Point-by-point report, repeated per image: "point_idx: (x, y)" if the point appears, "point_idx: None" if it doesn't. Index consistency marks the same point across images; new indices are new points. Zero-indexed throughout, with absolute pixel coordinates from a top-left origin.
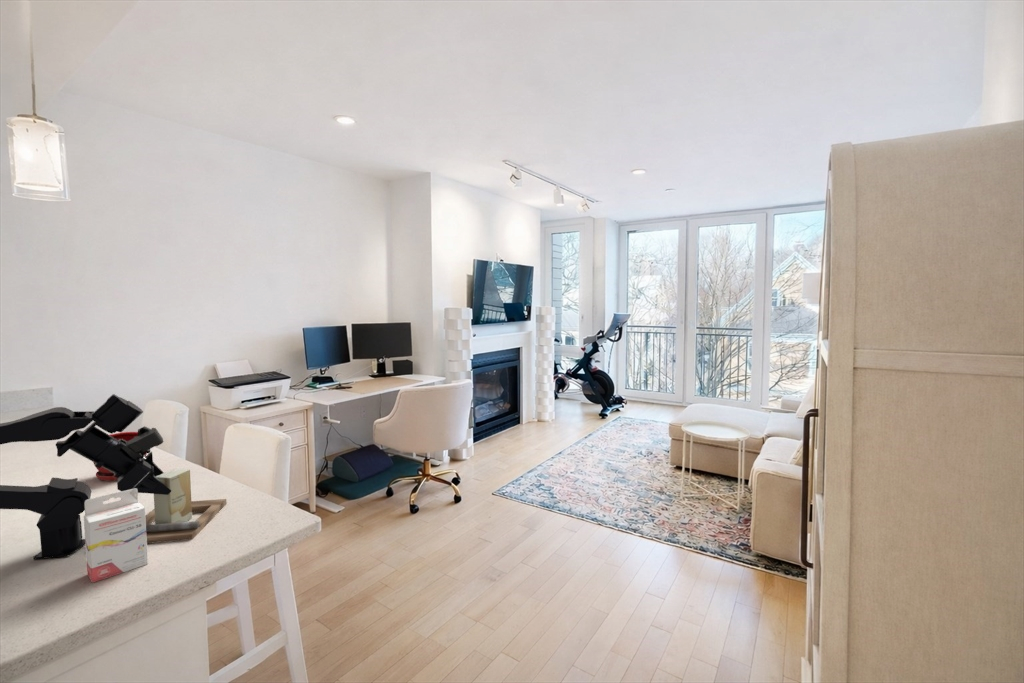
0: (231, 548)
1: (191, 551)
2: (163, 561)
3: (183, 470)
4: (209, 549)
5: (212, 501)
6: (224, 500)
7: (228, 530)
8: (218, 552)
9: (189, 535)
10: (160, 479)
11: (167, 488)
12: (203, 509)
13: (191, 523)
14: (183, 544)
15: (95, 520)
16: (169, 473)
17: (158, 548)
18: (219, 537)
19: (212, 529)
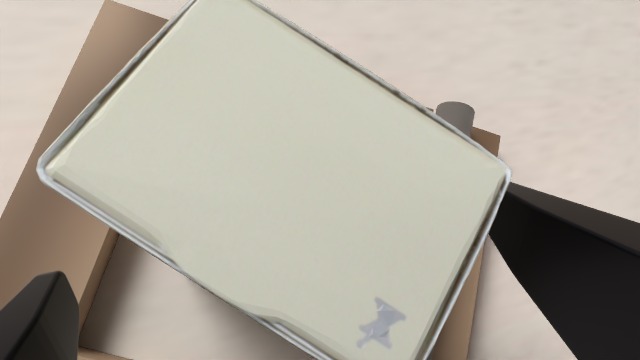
0: (603, 15)
1: (588, 136)
2: (637, 221)
3: (232, 42)
4: (590, 79)
5: (105, 66)
6: (129, 8)
7: (452, 20)
8: (620, 52)
9: (495, 147)
10: (451, 288)
11: (547, 198)
12: None
13: (470, 129)
14: (520, 171)
15: None
16: (310, 200)
17: None
18: (504, 50)
19: (416, 75)
